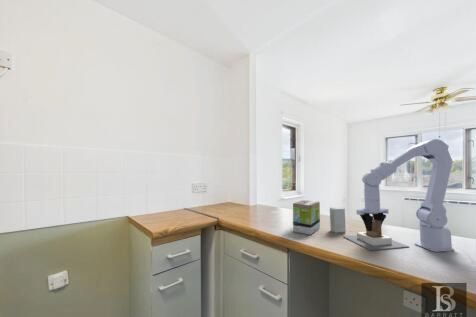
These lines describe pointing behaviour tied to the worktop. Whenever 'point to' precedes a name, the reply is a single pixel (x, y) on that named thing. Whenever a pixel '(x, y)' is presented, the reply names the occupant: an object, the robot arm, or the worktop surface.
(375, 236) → the walnut peg
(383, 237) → the socket board
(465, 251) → the worktop surface
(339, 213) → the skincare box
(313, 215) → the tea box
